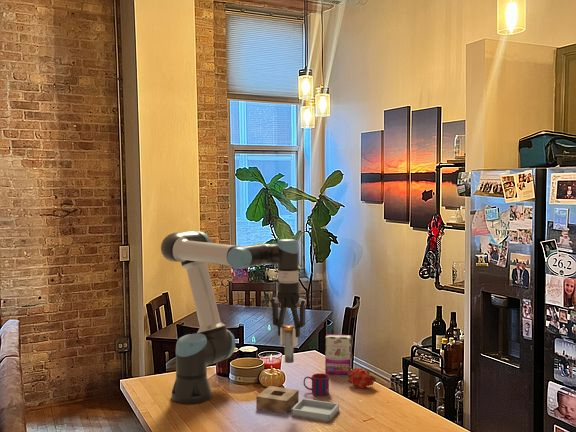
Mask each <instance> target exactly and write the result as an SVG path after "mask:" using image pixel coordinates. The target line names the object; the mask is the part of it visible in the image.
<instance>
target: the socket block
mask: <svg viewBox="0 0 576 432" xmlns="http://www.w3.org/2000/svg"><path fill="white" fill-rule="evenodd" d="M299 392H300V391H299V390H298V389H292V388H287V387H280V386H274V385H273V386H272V385H269V386H268V387H266V388H265V389H264V390H263V391H261V392H260V393H259V394H258V395H256V402H255V403H256V405H255V406H256V409H257V410H265V411H270V412H271V411H272V412H277V413H282V414H288V413H289V412H290V411H291V409H292V408H293V407H294V406H295V405H296V404H297V403H298V402H299V401H300V400H299Z"/></svg>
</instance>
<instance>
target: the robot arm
mask: <svg viewBox="0 0 576 432" xmlns="http://www.w3.org/2000/svg"><path fill="white" fill-rule="evenodd" d="M160 250H161V251H160V253H161V254H162V256H163V257H164V258H165V259H166V260H167V261H169V262H173V263H174V262H175V263H181V267H182V268H183V269H185V271H186V273H187V276H188V280H189V286H190V290H191V295H192V300H193V303H194V306H195V311H196V316H197V320H198V324H199V328H198V331H197V332H196V333H192V334H191V333H188V334H185V335H183V336H181V337H179V338H178V339H177V341H176V344H175V380H174V382H173V386H172V390H171V400H172V401H173V402H175V403H179V404H187V405H188V404H189V405H191V404H200V403H204V402H206V401H208V400H210V399H211V398H212V389H211V386H210V382H209V380H208V376H207V373H208V372H207V368H208V367H207V366H210V365H213V364H216V363H219V362H222V361H225V360H226V359H228V358H230V357H232V355H233V354H234V352H235V348H236V339H235V336H234V334H233V332H231V330H229V329H227V325H226V324H224V323H223V322H221V317H220V314H219V310H218V305H217V300H216V297H215V292H214V288H213V283H212V280H211V279H212V278H211V275H210V272H209V266H208V264H214V265H223V266H230V268H233V269H235V270H237V269H239V270H241V269H246V268H251V267H257V266H262V265H277V280H278V283H277V285H278V287H277V292H278V293H277V296H276V297H271V299H270V302H271V306H272V307H271V308H272V309H271V311H272V325H273V326H276V327H277V335H278V336H279V337H280V340H279V342H280V346H285V331H284V330H283V326H285V324H284V321H285V316H286V311H287V309H288V308H289V309H290V311H291V315H292V316H291V317H292V320H293V324H294V325H293V326H295V328H294V329H293V348H295V347H297V346H298V345H299V343H298V342H299V339H298V338H300V336H301V328H303V327H305V326H306V304H307V299H303V298H301V297H300V287H299V286H300V284H299V282H298V281H299V279H300V278H299V275H300V273H299V242H298V240H297V239H293V238H289V239H288V238H283V239H282V238H281V239H278V240H277V244H272V243H263V242H261V243H254V244H253V245H247V246H246V245H245V246H243V245H233V244H223V243H213V242H212V241H211V238H210V237H209V235H207V234H206V232H202V231H196V230H191V231H182V232H173V233H169V234H168V235H166V236H165V237H164V238H163V239H162V242H161V243H160ZM279 303H280V312H279ZM298 303H299V312H298V307H297V304H298Z"/></svg>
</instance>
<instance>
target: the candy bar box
mask: <svg viewBox="0 0 576 432" xmlns="http://www.w3.org/2000/svg"><path fill="white" fill-rule="evenodd" d="M324 341H325V344H324V345H325V351H324V354H325V358H324V359H325V360H324V361H325V362H324V363H325V369H324V371H325V373H324V374H327V375H341V376H342V375H345V376H347V375H348V373H349V372H350V371H351V369H352V335H351V334H350V335H347V334H326V335H325V340H324Z"/></svg>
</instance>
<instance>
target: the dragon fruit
mask: <svg viewBox="0 0 576 432" xmlns="http://www.w3.org/2000/svg"><path fill="white" fill-rule="evenodd" d="M370 373H371V372H370V371H369V370H366V368H365V369H364V368H362V367H361V368H359V367H354V368H351V371H350V372H349V373H348V375H346V376H347V382H348V383H349V384H352V385H354V387H355V389H358V388H361V389H364V390H369V389H370V387H369V386H373V385H374V382H377V379H376V377H375V376H374V375H372V374H370Z"/></svg>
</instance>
